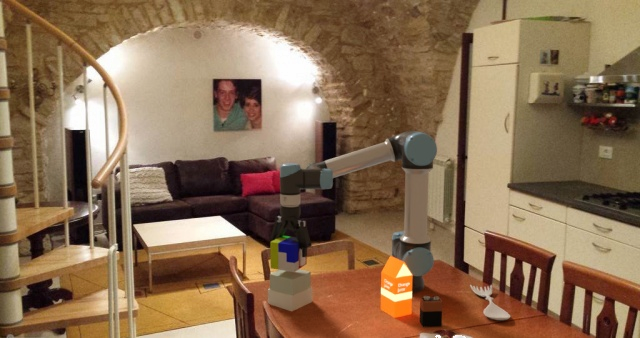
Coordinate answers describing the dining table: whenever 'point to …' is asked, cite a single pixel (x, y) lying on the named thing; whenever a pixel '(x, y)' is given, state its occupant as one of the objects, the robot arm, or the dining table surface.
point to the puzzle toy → (285, 254)
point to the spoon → (491, 305)
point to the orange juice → (396, 288)
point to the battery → (431, 311)
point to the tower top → (290, 281)
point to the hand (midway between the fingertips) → (290, 262)
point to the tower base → (290, 299)
